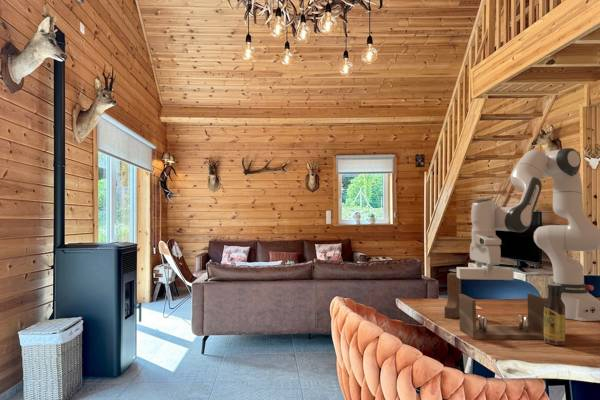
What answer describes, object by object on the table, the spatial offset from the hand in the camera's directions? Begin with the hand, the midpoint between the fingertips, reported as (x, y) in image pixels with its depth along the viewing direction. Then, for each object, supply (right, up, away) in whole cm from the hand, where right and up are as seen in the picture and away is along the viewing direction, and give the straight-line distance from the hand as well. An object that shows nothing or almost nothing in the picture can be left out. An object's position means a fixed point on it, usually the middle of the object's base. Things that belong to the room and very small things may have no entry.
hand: (484, 273), depth 168 cm
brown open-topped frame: (0, -19, -16) cm, 25 cm away
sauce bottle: (+12, -19, -27) cm, 35 cm away
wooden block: (-8, -21, +12) cm, 25 cm away
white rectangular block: (0, -2, 0) cm, 2 cm away
